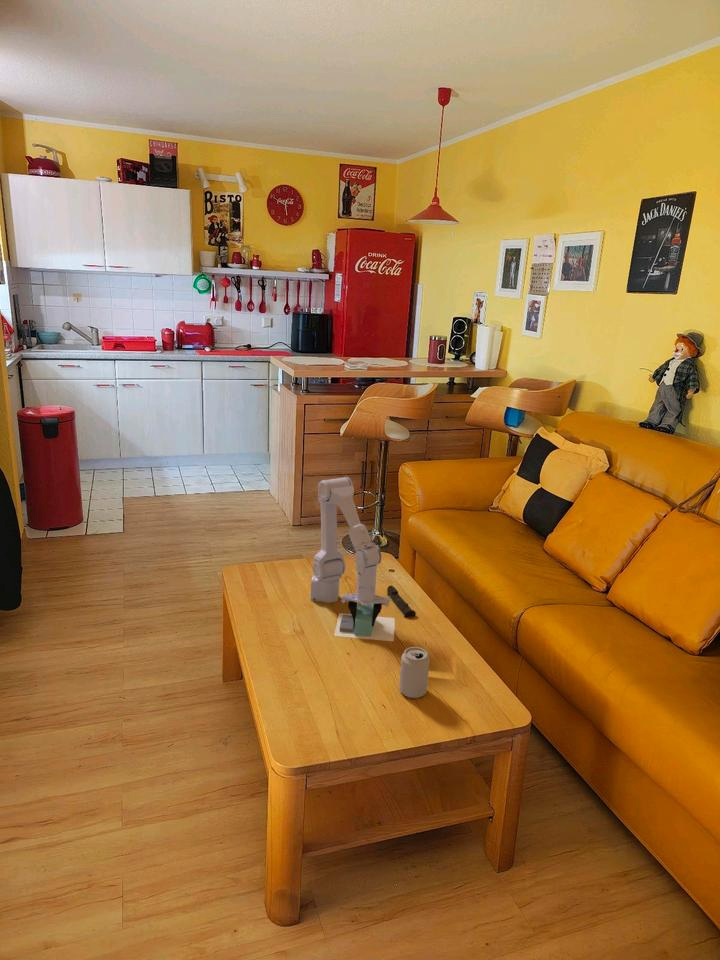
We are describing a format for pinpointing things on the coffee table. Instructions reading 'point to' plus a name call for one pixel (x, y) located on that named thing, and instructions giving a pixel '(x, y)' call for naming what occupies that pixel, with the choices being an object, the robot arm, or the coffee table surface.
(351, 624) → the mark chip
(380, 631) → the board
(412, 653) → the can
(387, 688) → the coffee table surface
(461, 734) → the coffee table surface
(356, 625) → the block
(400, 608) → the hand tool
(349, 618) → the mark chip
